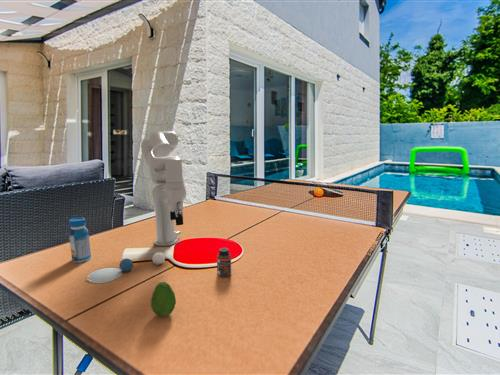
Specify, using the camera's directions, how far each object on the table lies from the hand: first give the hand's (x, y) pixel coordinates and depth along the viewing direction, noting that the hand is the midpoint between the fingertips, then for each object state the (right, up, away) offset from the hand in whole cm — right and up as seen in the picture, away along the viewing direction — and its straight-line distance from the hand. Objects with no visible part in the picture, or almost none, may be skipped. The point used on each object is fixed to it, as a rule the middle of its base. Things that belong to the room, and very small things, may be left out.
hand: (176, 222), depth 148 cm
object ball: (-20, -18, -8) cm, 28 cm away
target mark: (-28, -21, -11) cm, 37 cm away
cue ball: (-8, -16, -1) cm, 18 cm away
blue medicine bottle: (-47, -18, +6) cm, 50 cm away
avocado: (+5, -27, -40) cm, 48 cm away
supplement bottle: (+23, -21, -11) cm, 33 cm away
